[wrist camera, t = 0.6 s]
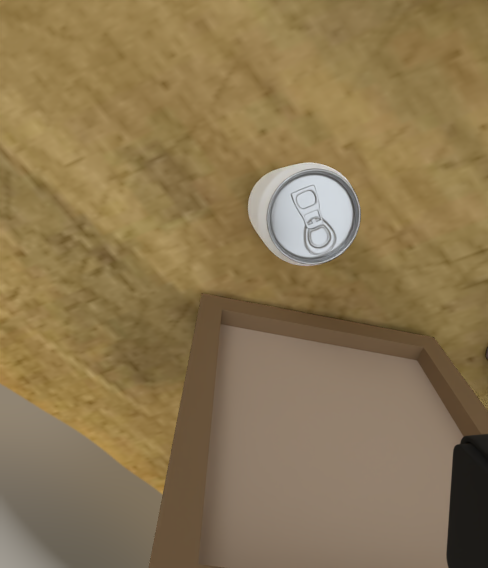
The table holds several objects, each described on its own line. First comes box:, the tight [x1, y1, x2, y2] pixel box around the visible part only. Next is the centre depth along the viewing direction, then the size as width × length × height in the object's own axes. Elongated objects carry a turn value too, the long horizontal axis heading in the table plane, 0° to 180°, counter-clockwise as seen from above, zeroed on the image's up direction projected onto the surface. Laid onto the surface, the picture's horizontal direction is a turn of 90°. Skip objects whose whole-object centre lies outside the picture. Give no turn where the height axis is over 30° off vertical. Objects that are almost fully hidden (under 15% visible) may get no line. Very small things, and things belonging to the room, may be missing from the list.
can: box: [248, 163, 361, 266], centre depth 30 cm, size 6×6×12 cm
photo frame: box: [149, 293, 488, 568], centre depth 28 cm, size 15×22×25 cm
